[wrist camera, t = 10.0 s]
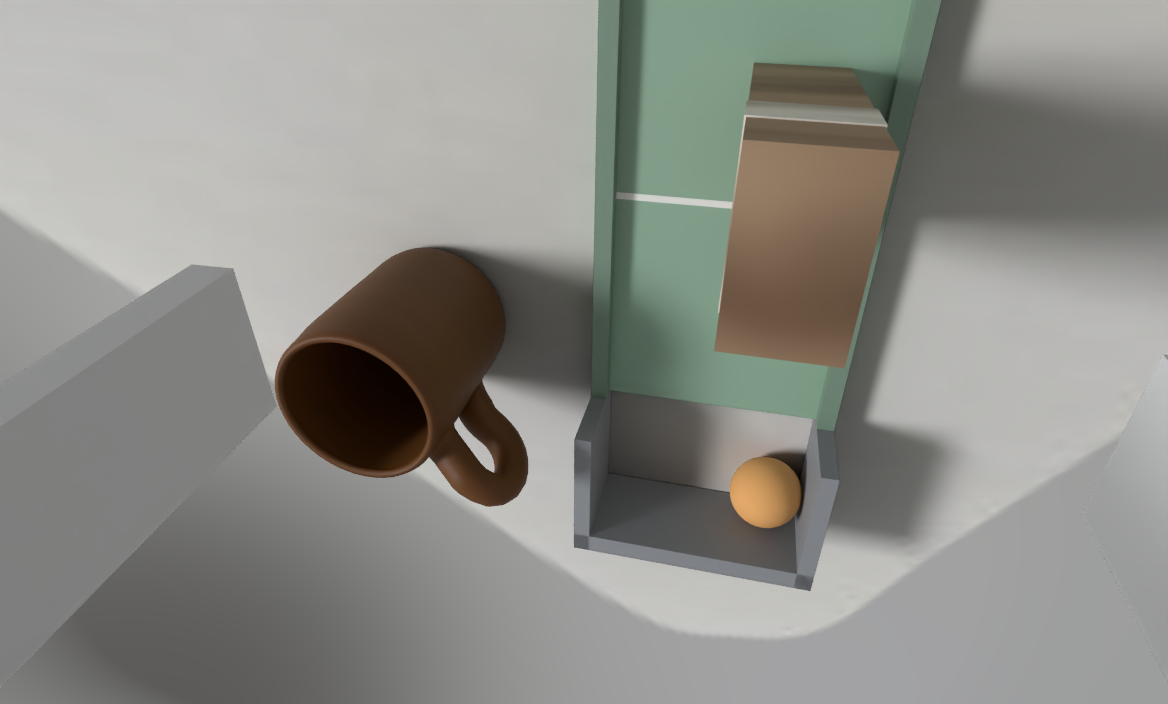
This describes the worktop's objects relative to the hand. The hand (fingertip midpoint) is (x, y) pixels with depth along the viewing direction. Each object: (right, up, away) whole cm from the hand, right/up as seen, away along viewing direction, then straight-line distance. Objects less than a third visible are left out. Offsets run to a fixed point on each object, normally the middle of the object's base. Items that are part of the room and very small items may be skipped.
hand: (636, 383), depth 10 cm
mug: (-7, +1, +27) cm, 28 cm away
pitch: (+6, +4, +22) cm, 23 cm away
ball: (+9, -7, +25) cm, 28 cm away
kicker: (+7, +9, +18) cm, 21 cm away
